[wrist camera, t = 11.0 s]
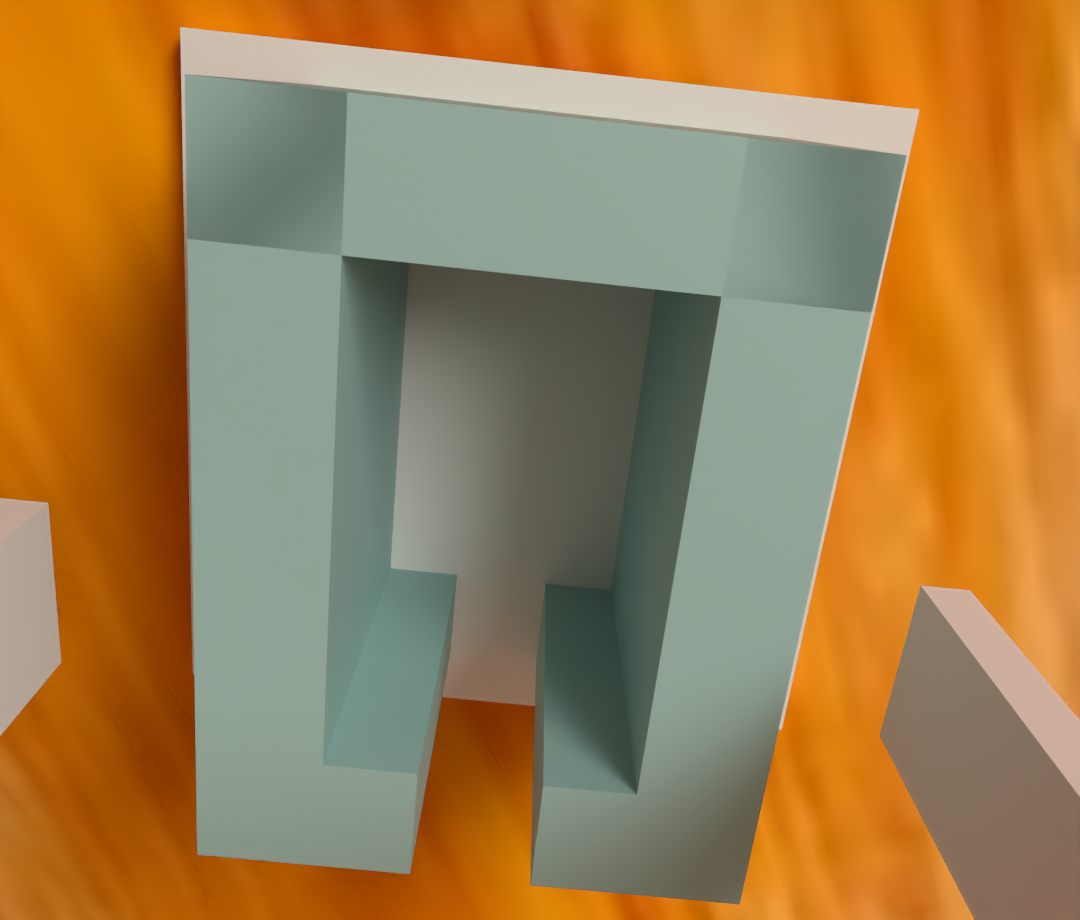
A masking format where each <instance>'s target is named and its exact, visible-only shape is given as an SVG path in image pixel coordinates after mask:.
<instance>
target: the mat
mask: <svg viewBox="0 0 1080 920" xmlns="http://www.w3.org/2000/svg"><path fill="white" fill-rule="evenodd" d="M180 45H181V98H182V150H183V203H184V256H185V308H186V361H187V414H188V466H189V519H190V572H191V624H192V674H194V624H193V562H192V501H191V439H190V377H189V316H188V254H187V192H186V131H185V74H190V75H202V76H215V77H227V78H239V79H251V80H263V81H276V82H288V83H300V84H312V85H322V86H331V87H339V88H348V89H357V90H366V91H375V92H384V93H393V94H402V95H410V96H419V97H428V98H437V99H446V100H455V101H464V102H473V103H481V104H490V105H499V106H508V107H517V108H526V109H535V110H544V111H552V112H561V113H570V114H579V115H588V116H597V117H606V118H615V119H623V120H632V121H641V122H650V123H659V124H668V125H677V126H686V127H694V128H703V129H712V130H721V131H730V132H739V133H748V134H757V135H765V136H774V137H783V138H790V139H797V140H804V141H811V142H818V143H825V144H832V145H839V146H845V147H852V148H859V149H866V150H873V151H880V152H887V153H894V154H901V155H907V156H906V160H905V165H904V169H903V174H902V178H901V183H900V187H899V191H898V196H897V200H896V205H895V209H894V214H893V218H892V223H891V227H890V232H889V236H888V241H887V245H886V250H885V254H884V259H883V263H882V268H881V272H880V277H879V281H878V286H877V290H876V295H875V299H874V303H873V308H872V312H871V317H870V321H869V326H868V330H867V335H866V339H865V344H864V348H863V353H862V357H861V362H860V366H859V371H858V375H857V380H856V384H855V389H854V393H853V398H852V402H851V407H850V411H849V415H848V420H847V424H846V429H845V433H844V438H843V442H842V447H841V451H840V456H839V460H838V465H837V469H836V474H835V478H834V483H833V487H832V492H831V496H830V501H829V505H828V510H827V514H826V519H825V523H824V527H823V532H822V536H821V541H820V545H819V550H818V554H817V559H816V563H815V568H814V572H813V577H812V581H811V586H810V590H809V595H808V599H807V604H806V608H805V613H804V617H803V622H802V626H801V631H800V635H799V639H798V644H797V648H796V653H795V657H794V662H793V666H792V671H791V675H790V680H789V684H788V689H787V693H786V698H785V702H784V707H783V711H782V716H781V720H780V725H779V729H782V726H783V721H784V717H785V712H786V708H787V703H788V699H789V694H790V690H791V685H792V681H793V676H794V672H795V667H796V663H797V658H798V654H799V649H800V645H801V640H802V636H803V631H804V627H805V622H806V618H807V613H808V609H809V604H810V600H811V595H812V591H813V586H814V582H815V577H816V573H817V568H818V564H819V559H820V555H821V550H822V546H823V541H824V537H825V532H826V528H827V523H828V519H829V514H830V510H831V505H832V501H833V496H834V492H835V488H836V483H837V479H838V474H839V470H840V465H841V461H842V456H843V452H844V447H845V443H846V438H847V434H848V429H849V425H850V420H851V416H852V411H853V407H854V402H855V398H856V393H857V389H858V384H859V380H860V375H861V371H862V366H863V362H864V357H865V353H866V348H867V344H868V339H869V335H870V330H871V326H872V321H873V317H874V312H875V308H876V303H877V299H878V294H879V290H880V285H881V281H882V276H883V272H884V267H885V263H886V258H887V254H888V249H889V245H890V240H891V236H892V231H893V227H894V222H895V218H896V213H897V209H898V204H899V200H900V195H901V191H902V186H903V182H904V177H905V173H906V168H907V164H908V159H909V155H910V150H911V146H912V141H913V137H914V132H915V128H916V123H917V119H918V114H919V110H918V109H909V108H900V107H891V106H882V105H873V104H864V103H855V102H846V101H837V100H828V99H819V98H810V97H801V96H793V95H784V94H775V93H766V92H757V91H748V90H739V89H730V88H721V87H712V86H703V85H694V84H685V83H676V82H667V81H658V80H650V79H641V78H632V77H623V76H614V75H605V74H596V73H587V72H578V71H569V70H560V69H551V68H542V67H533V66H524V65H516V64H507V63H498V62H489V61H480V60H471V59H462V58H453V57H444V56H435V55H426V54H417V53H408V52H399V51H390V50H382V49H373V48H364V47H355V46H346V45H337V44H328V43H319V42H310V41H301V40H292V39H283V38H274V37H265V36H256V35H248V34H239V33H230V32H221V31H212V30H203V29H194V28H185V27H180ZM654 295H655V289H647V288H637V287H628V286H619V285H610V284H600V283H591V282H582V281H573V280H563V279H554V278H545V277H536V276H526V275H517V274H508V273H499V272H489V271H480V270H471V269H462V268H452V267H443V266H434V265H425V264H415V263H409V270H408V286H407V303H406V320H405V336H404V353H403V370H402V386H401V403H400V420H399V436H398V453H397V469H396V486H395V503H394V519H393V536H392V553H391V568H394V569H404V570H414V571H424V572H434V573H444V574H454V575H457V582H456V593H455V605H454V617H453V628H452V640H451V652H450V657H449V663H448V668H447V674H446V679H445V685H444V690H443V696H442V697H444V698H455V699H465V700H476V701H486V702H497V703H508V704H518V705H529V706H535V687H536V658H537V649H538V641H539V633H540V624H541V616H542V608H543V599H544V591H545V584H554V585H564V586H574V587H584V588H594V589H604V590H611V589H612V582H613V576H614V569H615V562H616V555H617V548H618V541H619V535H620V528H621V521H622V514H623V507H624V500H625V494H626V487H627V480H628V473H629V466H630V459H631V453H632V446H633V439H634V432H635V425H636V418H637V412H638V405H639V398H640V391H641V384H642V377H643V371H644V364H645V357H646V350H647V343H648V336H649V329H650V323H651V316H652V309H653V302H654Z"/></svg>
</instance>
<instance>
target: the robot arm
mask: <svg viewBox="0 0 1080 920" xmlns="http://www.w3.org/2000/svg"><path fill="white" fill-rule="evenodd" d="M60 663H61V652H60V640H59V628H58V616H57V603H56V591H55V579H54V567H53V554H52V542H51V530H50V518H49V505H48V503H46V502H36V501H25V500H15V499H4V498H0V736H1V734H2V733H3V732H4V731H5V730H6V728H7V727H8V726H9V725H10V724H11V722H12V721H13V720H14V719H15V718H16V716H17V715H18V714H19V713H20V712H21V710H22V709H23V708H24V707H25V706H26V704H27V703H28V702H29V701H30V700H31V698H32V697H33V696H34V695H35V694H36V692H37V691H38V690H39V689H40V688H41V686H42V685H43V684H44V683H45V682H46V680H47V679H48V678H49V677H50V675H51V674H52V673H53V672H54V671H55V669H56V668H57V667H58V666H59V665H60ZM880 737H881V739H882V741H883V743H884V745H885V747H886V749H887V751H888V753H889V755H890V757H891V759H892V760H893V762H894V764H895V766H896V768H897V770H898V772H899V774H900V776H901V778H902V780H903V782H904V784H905V786H906V788H907V790H908V791H909V793H910V795H911V797H912V799H913V801H914V803H915V805H916V807H917V809H918V811H919V813H920V815H921V817H922V819H923V821H924V822H925V824H926V826H927V828H928V830H929V832H930V834H931V836H932V838H933V840H934V842H935V844H936V846H937V848H938V850H939V851H940V853H941V855H942V857H943V859H944V861H945V863H946V865H947V867H948V869H949V871H950V873H951V875H952V877H953V879H954V881H955V882H956V884H957V886H958V888H959V890H960V892H961V894H962V896H963V898H964V900H965V902H966V904H967V906H968V908H969V910H970V912H971V913H972V915H973V917H974V919H975V920H1080V720H1079V719H1078V718H1077V717H1076V715H1075V714H1074V713H1073V712H1072V711H1071V709H1070V708H1069V707H1068V706H1067V705H1066V704H1065V702H1064V701H1063V700H1062V699H1061V698H1060V696H1059V695H1058V694H1057V693H1056V692H1055V690H1054V689H1053V688H1052V687H1051V686H1050V685H1049V683H1048V682H1047V681H1046V680H1045V679H1044V677H1043V676H1042V675H1041V674H1040V673H1039V672H1038V670H1037V669H1036V668H1035V667H1034V666H1033V664H1032V663H1031V662H1030V661H1029V660H1028V658H1027V657H1026V656H1025V655H1024V654H1023V653H1022V651H1021V650H1020V649H1019V648H1018V647H1017V645H1016V644H1015V643H1014V642H1013V641H1012V639H1011V638H1010V637H1009V636H1008V635H1007V634H1006V632H1005V631H1004V630H1003V629H1002V628H1001V626H1000V625H999V624H998V623H997V622H996V620H995V619H994V618H993V617H992V616H991V615H990V613H989V612H988V611H987V610H986V609H985V607H984V606H983V605H982V604H981V603H980V601H979V600H978V599H977V598H976V597H975V596H974V594H973V593H972V592H971V591H970V590H961V589H950V588H940V587H929V586H921V587H920V591H919V594H918V598H917V602H916V605H915V609H914V613H913V616H912V620H911V624H910V627H909V631H908V635H907V638H906V642H905V645H904V649H903V653H902V656H901V660H900V664H899V667H898V671H897V675H896V678H895V682H894V686H893V689H892V693H891V697H890V700H889V704H888V708H887V711H886V715H885V719H884V722H883V726H882V730H881V733H880Z"/></svg>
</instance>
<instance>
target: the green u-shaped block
mask: <svg viewBox="0 0 1080 920" xmlns="http://www.w3.org/2000/svg"><path fill="white" fill-rule="evenodd" d="M185 131H186V192H187V254H188V316H189V377H190V439H191V501H192V562H193V624H194V686H195V748H196V809H197V855H206V856H217V857H228V858H239V859H250V860H261V861H272V862H283V863H294V864H305V865H316V866H326V867H337V868H348V869H359V870H370V871H381V872H392V873H403V874H410V871H411V866H412V860H413V855H414V849H415V844H416V838H417V833H418V827H419V822H420V816H421V811H422V805H423V800H424V794H425V789H426V783H427V778H428V773H429V767H430V762H431V756H432V751H433V745H434V740H435V734H436V729H437V723H438V718H439V712H440V707H441V701H442V696H443V690H444V685H445V679H446V674H447V668H448V663H449V657H450V652H451V640H452V628H453V617H454V605H455V593H456V582H457V575H454V574H444V573H434V572H424V571H414V570H404V569H394V568H391V553H392V536H393V519H394V503H395V486H396V469H397V453H398V436H399V420H400V403H401V386H402V370H403V353H404V336H405V320H406V303H407V286H408V270H409V263H415V264H425V265H434V266H443V267H452V268H462V269H471V270H480V271H489V272H499V273H508V274H517V275H526V276H536V277H545V278H554V279H563V280H573V281H582V282H591V283H600V284H610V285H619V286H628V287H637V288H647V289H655V295H654V302H653V309H652V316H651V323H650V329H649V336H648V343H647V350H646V357H645V364H644V371H643V377H642V384H641V391H640V398H639V405H638V412H637V418H636V425H635V432H634V439H633V446H632V453H631V459H630V466H629V473H628V480H627V487H626V494H625V500H624V507H623V514H622V521H621V528H620V535H619V541H618V548H617V555H616V562H615V569H614V576H613V582H612V589H611V590H604V589H594V588H584V587H574V586H564V585H554V584H545V591H544V599H543V608H542V616H541V624H540V633H539V641H538V649H537V658H536V687H535V726H534V766H533V805H532V844H531V883H530V885H534V886H545V887H556V888H567V889H578V890H589V891H600V892H611V893H622V894H633V895H644V896H654V897H665V898H676V899H687V900H698V901H709V902H720V903H731V904H740V899H741V895H742V890H743V886H744V881H745V877H746V872H747V868H748V863H749V859H750V855H751V850H752V846H753V841H754V837H755V832H756V828H757V823H758V819H759V814H760V810H761V805H762V801H763V796H764V792H765V787H766V783H767V778H768V774H769V769H770V765H771V760H772V756H773V751H774V747H775V743H776V738H777V734H778V729H779V725H780V720H781V716H782V711H783V707H784V702H785V698H786V693H787V689H788V684H789V680H790V675H791V671H792V666H793V662H794V657H795V653H796V648H797V644H798V639H799V635H800V631H801V626H802V622H803V617H804V613H805V608H806V604H807V599H808V595H809V590H810V586H811V581H812V577H813V572H814V568H815V563H816V559H817V554H818V550H819V545H820V541H821V536H822V532H823V527H824V523H825V519H826V514H827V510H828V505H829V501H830V496H831V492H832V487H833V483H834V478H835V474H836V469H837V465H838V460H839V456H840V451H841V447H842V442H843V438H844V433H845V429H846V424H847V420H848V415H849V411H850V407H851V402H852V398H853V393H854V389H855V384H856V380H857V375H858V371H859V366H860V362H861V357H862V353H863V348H864V344H865V339H866V335H867V330H868V326H869V321H870V317H871V312H872V308H873V303H874V299H875V295H876V290H877V286H878V281H879V277H880V272H881V268H882V263H883V259H884V254H885V250H886V245H887V241H888V236H889V232H890V227H891V223H892V218H893V214H894V209H895V205H896V200H897V196H898V191H899V187H900V183H901V178H902V174H903V169H904V165H905V160H906V156H907V155H901V154H894V153H887V152H880V151H873V150H866V149H859V148H852V147H845V146H839V145H832V144H825V143H818V142H811V141H804V140H797V139H790V138H783V137H774V136H765V135H757V134H748V133H739V132H730V131H721V130H712V129H703V128H694V127H686V126H677V125H668V124H659V123H650V122H641V121H632V120H623V119H615V118H606V117H597V116H588V115H579V114H570V113H561V112H552V111H544V110H535V109H526V108H517V107H508V106H499V105H490V104H481V103H473V102H464V101H455V100H446V99H437V98H428V97H419V96H410V95H402V94H393V93H384V92H375V91H366V90H357V89H348V88H339V87H331V86H322V85H312V84H300V83H288V82H276V81H263V80H251V79H239V78H227V77H215V76H202V75H190V74H185Z"/></svg>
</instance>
